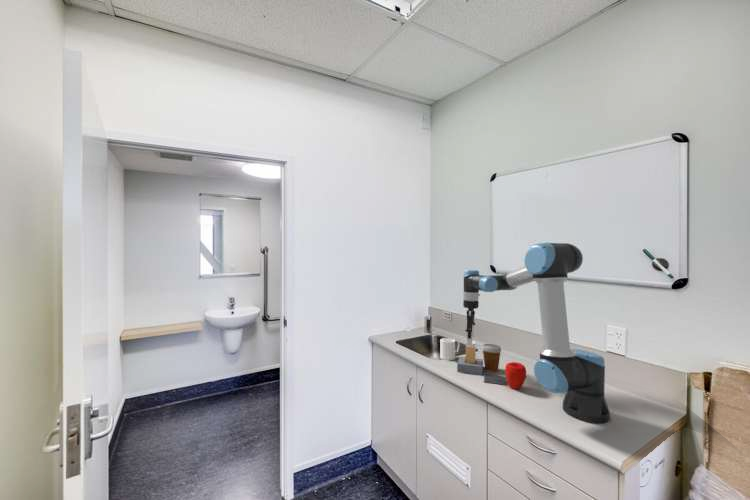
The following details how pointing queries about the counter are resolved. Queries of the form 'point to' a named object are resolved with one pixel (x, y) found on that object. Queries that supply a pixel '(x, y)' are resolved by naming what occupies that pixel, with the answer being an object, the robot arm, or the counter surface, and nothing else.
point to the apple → (515, 374)
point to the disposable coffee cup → (491, 356)
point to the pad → (495, 379)
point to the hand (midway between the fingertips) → (470, 340)
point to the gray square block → (470, 366)
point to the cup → (448, 348)
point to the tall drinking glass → (470, 352)
